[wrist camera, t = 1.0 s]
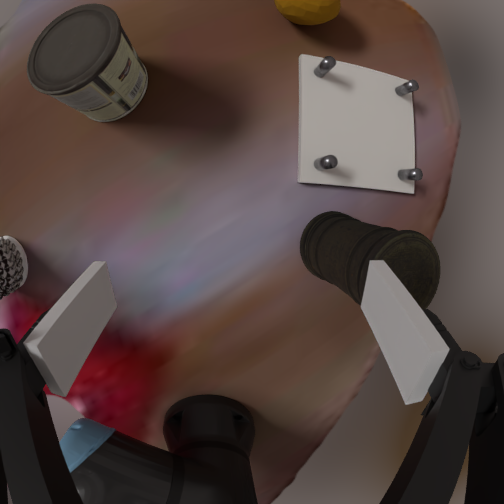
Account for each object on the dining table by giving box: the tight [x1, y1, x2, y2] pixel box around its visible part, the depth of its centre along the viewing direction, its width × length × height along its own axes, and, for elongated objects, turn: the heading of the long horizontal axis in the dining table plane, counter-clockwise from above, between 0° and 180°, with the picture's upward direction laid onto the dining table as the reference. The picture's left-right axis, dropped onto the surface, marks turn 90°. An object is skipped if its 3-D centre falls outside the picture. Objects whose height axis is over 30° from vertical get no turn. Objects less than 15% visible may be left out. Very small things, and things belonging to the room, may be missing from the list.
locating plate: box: [298, 54, 423, 194], centre depth 34 cm, size 18×18×5 cm
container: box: [300, 211, 440, 310], centre depth 31 cm, size 9×9×18 cm
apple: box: [274, 0, 340, 25], centre depth 28 cm, size 9×9×9 cm
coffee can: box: [27, 4, 148, 122], centre depth 25 cm, size 10×10×14 cm
